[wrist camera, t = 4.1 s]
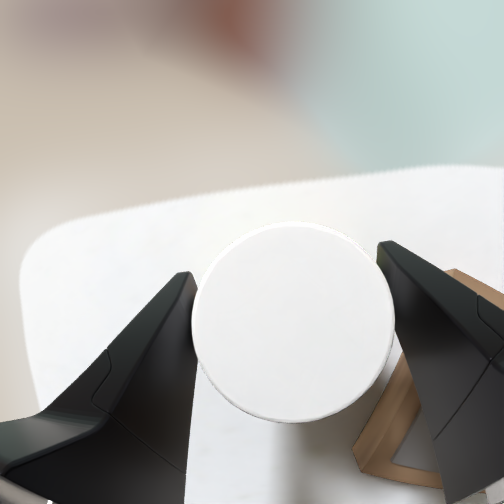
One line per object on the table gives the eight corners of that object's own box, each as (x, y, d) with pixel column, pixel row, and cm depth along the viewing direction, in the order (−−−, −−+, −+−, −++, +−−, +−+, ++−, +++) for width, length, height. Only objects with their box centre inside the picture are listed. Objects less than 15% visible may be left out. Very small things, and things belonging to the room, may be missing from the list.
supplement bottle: (370, 305, 15) (474, 303, 5) (297, 387, 15) (299, 497, 5) (288, 235, 16) (279, 136, 6) (216, 315, 16) (110, 328, 6)
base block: (478, 476, 12) (499, 495, 9) (351, 448, 14) (362, 475, 11) (543, 332, 13) (573, 333, 10) (431, 274, 15) (458, 267, 12)
